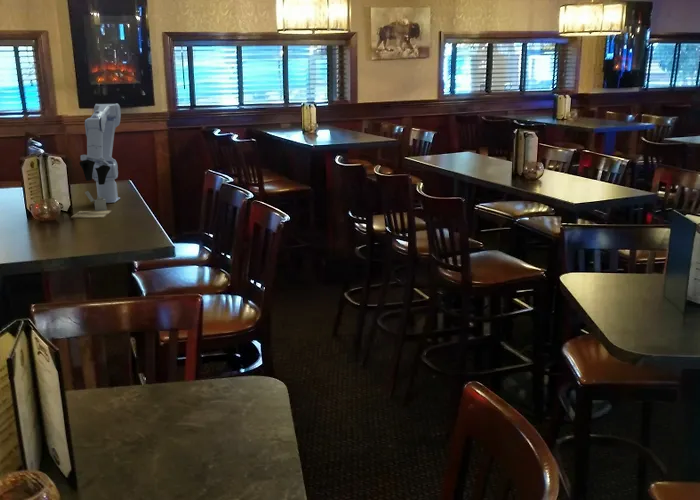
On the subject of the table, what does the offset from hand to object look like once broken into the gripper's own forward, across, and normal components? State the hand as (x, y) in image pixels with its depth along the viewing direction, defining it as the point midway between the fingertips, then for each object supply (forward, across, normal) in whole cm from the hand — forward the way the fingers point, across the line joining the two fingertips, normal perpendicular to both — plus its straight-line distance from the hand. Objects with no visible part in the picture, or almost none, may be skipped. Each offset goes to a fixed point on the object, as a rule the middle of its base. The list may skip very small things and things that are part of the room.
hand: (95, 182), depth 264 cm
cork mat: (+14, -4, -1) cm, 14 cm away
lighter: (+11, +2, +1) cm, 11 cm away
